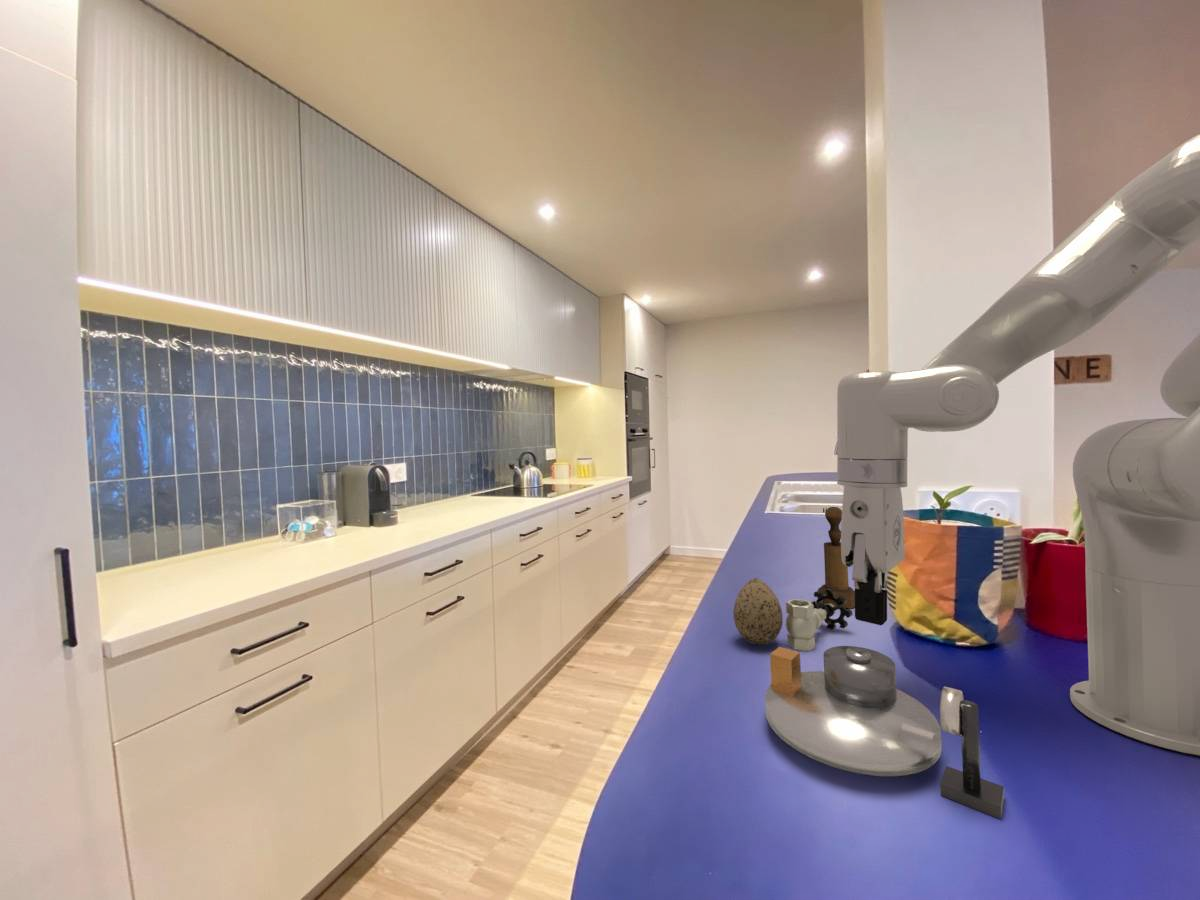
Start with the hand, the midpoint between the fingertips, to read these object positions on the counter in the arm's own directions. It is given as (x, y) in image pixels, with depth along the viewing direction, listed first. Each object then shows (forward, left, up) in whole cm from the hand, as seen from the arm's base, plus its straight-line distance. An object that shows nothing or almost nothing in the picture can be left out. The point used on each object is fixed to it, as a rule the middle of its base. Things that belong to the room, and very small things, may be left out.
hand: (870, 620), depth 59 cm
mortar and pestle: (+13, -28, -8) cm, 32 cm away
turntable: (-1, +13, -7) cm, 14 cm away
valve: (+11, -10, -9) cm, 17 cm away
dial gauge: (-11, +15, -8) cm, 20 cm away
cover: (-1, +8, -5) cm, 10 cm away
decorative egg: (+17, -3, -8) cm, 19 cm away
